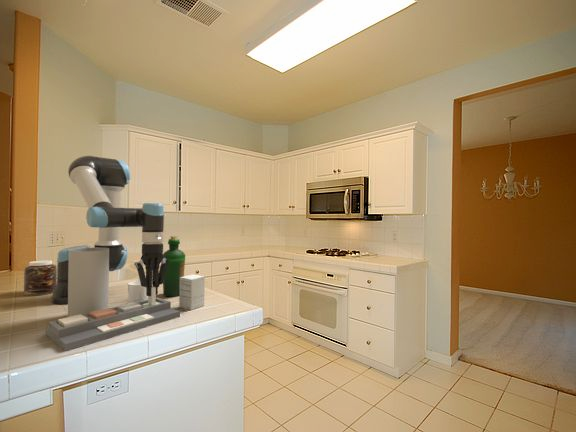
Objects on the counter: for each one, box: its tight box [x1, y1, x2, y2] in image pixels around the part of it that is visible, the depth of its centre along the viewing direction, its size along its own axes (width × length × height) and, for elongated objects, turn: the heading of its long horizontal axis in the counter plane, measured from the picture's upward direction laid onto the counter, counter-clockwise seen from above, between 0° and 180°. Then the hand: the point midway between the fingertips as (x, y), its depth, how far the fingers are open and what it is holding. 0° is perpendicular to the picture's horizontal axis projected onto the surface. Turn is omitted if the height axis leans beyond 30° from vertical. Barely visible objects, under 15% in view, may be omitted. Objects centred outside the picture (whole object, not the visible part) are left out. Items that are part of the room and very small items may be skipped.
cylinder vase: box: [67, 247, 110, 317], centre depth 108 cm, size 12×12×25 cm
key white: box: [57, 314, 88, 327], centre depth 91 cm, size 6×6×2 cm
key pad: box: [45, 297, 181, 352], centre depth 100 cm, size 18×36×4 cm, turn 144°
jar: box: [23, 259, 57, 297], centre depth 138 cm, size 12×12×15 cm
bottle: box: [162, 235, 186, 298], centre depth 138 cm, size 11×11×28 cm
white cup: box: [127, 280, 148, 303], centre depth 120 cm, size 8×8×10 cm
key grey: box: [115, 302, 141, 313], centre depth 105 cm, size 6×6×2 cm
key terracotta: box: [89, 307, 116, 319], centre depth 98 cm, size 6×6×2 cm
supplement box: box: [178, 274, 205, 311], centre depth 121 cm, size 7×7×13 cm
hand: (151, 303), depth 111 cm, fingers closed
